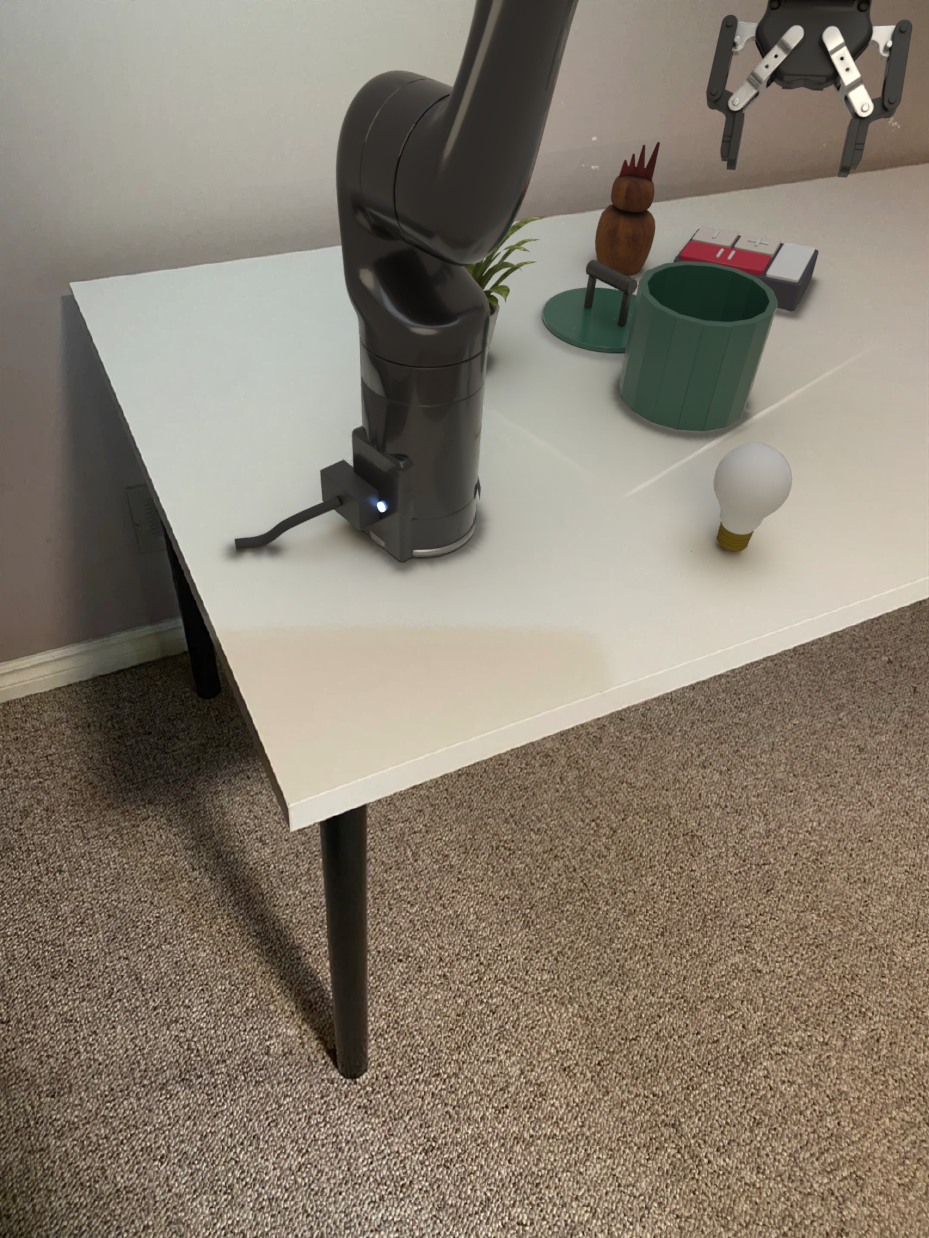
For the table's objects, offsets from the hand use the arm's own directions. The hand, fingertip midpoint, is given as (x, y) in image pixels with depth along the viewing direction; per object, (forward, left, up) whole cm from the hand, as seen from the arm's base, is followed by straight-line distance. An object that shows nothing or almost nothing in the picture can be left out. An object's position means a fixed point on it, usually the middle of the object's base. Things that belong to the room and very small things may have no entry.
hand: (786, 171), depth 73 cm
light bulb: (-13, -12, -24) cm, 30 cm away
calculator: (+29, +17, -24) cm, 41 cm away
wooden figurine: (+19, +28, -24) cm, 42 cm away
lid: (+7, +20, -23) cm, 32 cm away
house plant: (-10, +23, -24) cm, 35 cm away
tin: (+2, +5, -24) cm, 25 cm away
